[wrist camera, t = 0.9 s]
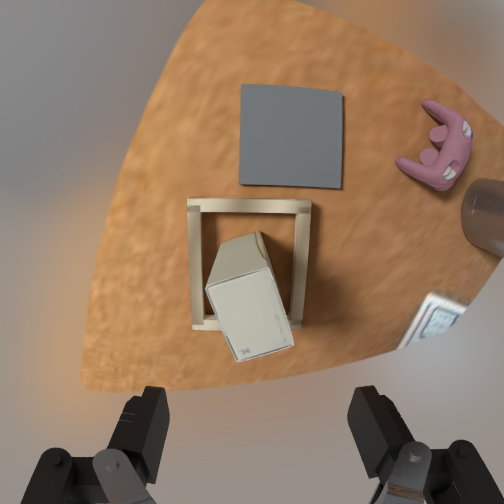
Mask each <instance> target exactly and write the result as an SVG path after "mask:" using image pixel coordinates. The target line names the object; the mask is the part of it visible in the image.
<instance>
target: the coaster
mask: <svg viewBox="0 0 504 504" xmlns="http://www.w3.org/2000/svg"><path fill="white" fill-rule="evenodd" d="M341 167H342V93H341V92H335V91H327V90H320V89H311V88H302V87H291V86H278V85H259V84H242V89H241V124H240V166H239V184H255V185H287V186H308V187H326V188H340V189H341Z"/></svg>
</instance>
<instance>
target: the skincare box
mask: <svg viewBox="0 0 504 504" xmlns="http://www.w3.org/2000/svg"><path fill="white" fill-rule="evenodd" d="M205 290H206V293H207V296H208V298H209V301H210V304H211V306H212V308H213V311H214V313H215V316H216V318H217V321H218V323H219V326H220V328H221V330H222V332H223V334H224V336H225V339H226V341H227V343H228V345H229V347H230V349H231V351H232V353H233V355H234V357H235V360H236V361H237V362H241V361H245V360H249V359H253V358H256V357H260V356H263V355H267V354H270V353H274V352H277V351H280V350H283V349H286V348H289V347H292V346H293V345H294V340H293V336H292V332H291V329H290V325H289V322H288V319H287V316H286V312H285V309H284V306H283V303H282V300H281V296H280V293H279V289H278V285H277V282H276V279H275V275H274V272H273V269H272V266H271V263H270V259H269V256H268V253H267V250H266V247H265V244H264V241H263V238H262V235H261V232H260V231H257V232H254V233H251V234H247V235H244V236H241V237H238V238H235V239H232V240H229V241H226V242H223V243H221V245H220V248H219V251H218V253H217V256H216V259H215V262H214V265H213V267H212V270H211V273H210V276H209V279H208V282H207V284H206V287H205Z"/></svg>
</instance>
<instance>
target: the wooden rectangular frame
mask: <svg viewBox="0 0 504 504" xmlns="http://www.w3.org/2000/svg"><path fill="white" fill-rule="evenodd" d="M311 202H312V201H310V200H307V199H267V198H203V197H190V198H188V199H187V208H188V252H189V277H190V296H191V312H192V326H193V330H221V328H220V326H219V323H218V321H217V318H216V316H215V315H206V312H205V310H204V285H203V250H202V212H260V213H296V221H295V240H294V257H293V272H292V286H291V300H290V312H288V315H286V316H287V319H288V322H289V325H290V329H291V330H301V328H302V318H303V309H304V298H305V288H306V276H307V264H308V251H309V237H310V220H311Z"/></svg>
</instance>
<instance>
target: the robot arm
mask: <svg viewBox="0 0 504 504" xmlns="http://www.w3.org/2000/svg"><path fill="white" fill-rule="evenodd" d="M462 226H463V230H464V233H465V235H466V238H467V239H468V240H469V242H470V243H472V244H473V245H475V246H477V247H480V248H482V249H485V250H487V251H489V252H492V253H493V254H496V255H498V256H500V257H503V258H504V181H499V180H492V179H479V180H476V181H475V182H474V183H473V184H472V185H471V186H470V187H469V189H468V191H467V193H466V195H465V198H464V201H463V206H462ZM169 416H170V414H169V408H168V403H167V397H166V392H165V389H164V388H162V387H153V386H146V387H145V389H144V392H143V394H142V397H140V396H133V397H132V398H131V399H130V400H129V401H128V402H127V403H126V404H125V407H124V409H123V412H122V414H121V416H120V418H119V421H118V423H117V426H116V428H115V430H114V433H113V435H112V437H111V440H110V442H109V445H108V447H107V448H106V449H105V450H102V451H100V452H98V453H97V454H96V455H95V456H94V457H71V456H70V454H69V453H68V452H67V451H66V450H64V449H62V448H50V449H48V450H46V451H45V452H44V453H43V454H42V455H41V457H40V459H39V462H38V464H37V466H36V468H35V471H34V473H33V475H32V477H31V480H30V482H29V484H28V486H27V489H26V492H25V494H24V496H23V499H22V501H21V504H96V503H97V504H102V503H103V504H107V503H108V504H156V502H155V501H154V499H153V498H152V497H151V496H150V494H149V493H148V491H147V490H146V484H147V483H151V484H155V482H156V478H157V473H158V469H159V464H160V460H161V456H162V452H163V447H164V443H165V439H166V435H167V431H168V426H169V420H170V417H169ZM347 418H348V424H349V427H350V429H351V432H352V435H353V437H354V440H355V442H356V445H357V448H358V450H359V453H360V456H361V458H362V461H363V463H364V466H365V469H366V472H367V474H368V477H369V479H370V478H375V477H379V480H380V482H379V483H378V485H377V487H376V489H375V491H374V494H373V496H372V498H371V500H370V502H369V504H423V503H424V500H426V503H427V504H504V498H503V496H502V494H501V492H500V490H499V488H498V486H497V485H496V483H495V481H494V479H493V478H492V476H491V474H490V472H489V470H488V469H487V467H486V465H485V464H484V462H483V460H482V458H481V457H480V455H479V453H478V452H477V450H476V448H475V447H474V445H473V444H472V443H470V442H469V441H466V440H457V441H454V442H453V443H452V444H451V446H450V447H449V448H448V449H430V448H429V447H428V446H427V445H425V444H424V443H422V442H418V441H415V440H414V438H413V436H412V434H411V433H410V431H409V429H408V427H407V426H406V424H405V422H404V420H403V419H402V418H401V415H400V413H399V412H398V411H397V409H396V407H395V405H394V403H393V402H392V401H391V400H390V399H389V398H388V397H386V396H385V395H379V393H378V392H377V390H376V388H375V387H374V386H373V385H371V386H364V387H357V388H356V389H355V391H354V394H353V398H352V401H351V404H350V407H349V410H348V414H347ZM454 484H455V485H454ZM455 486H456V487H455ZM456 488H457V489H456ZM457 490H458V491H457ZM422 493H423V495H422Z"/></svg>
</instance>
